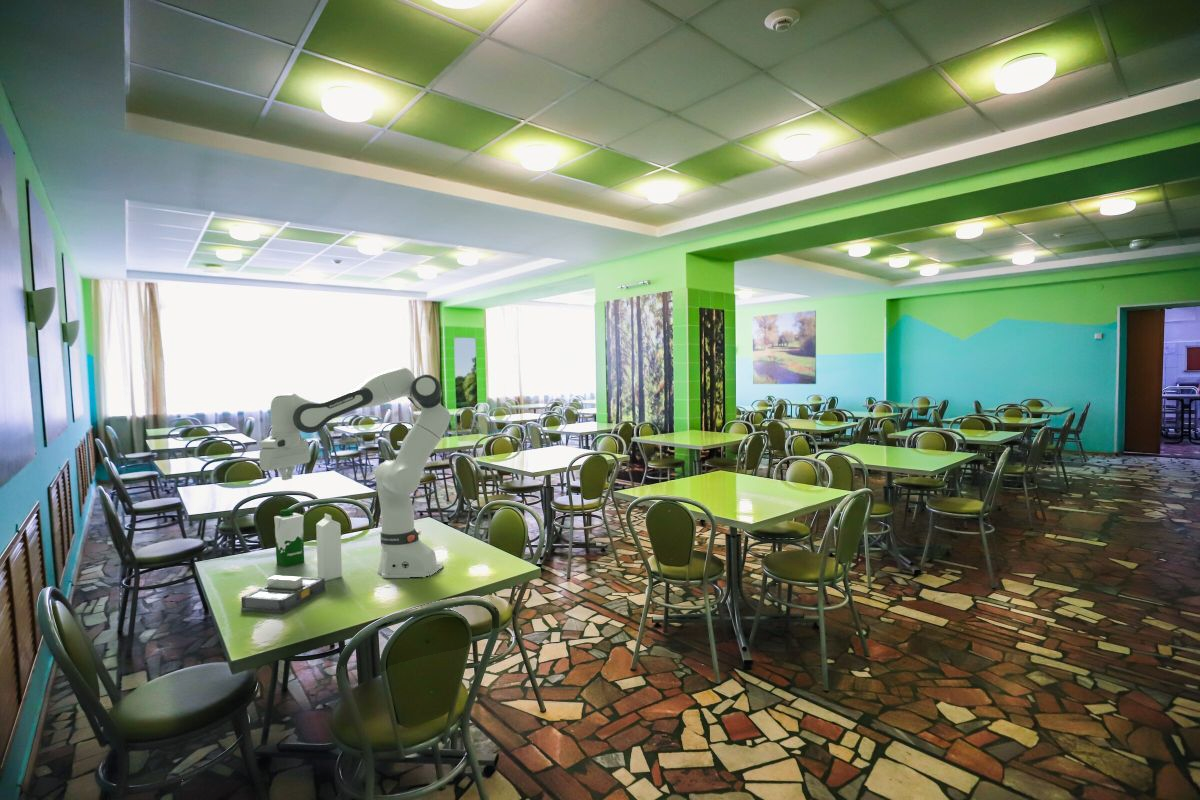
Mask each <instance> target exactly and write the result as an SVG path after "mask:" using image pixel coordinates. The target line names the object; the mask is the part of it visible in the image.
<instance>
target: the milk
mask: <svg viewBox="0 0 1200 800" xmlns="http://www.w3.org/2000/svg"><path fill="white" fill-rule="evenodd" d="M315 527H316V532H315V534H316V559H317V560H316V563H317V578H325V582H327V581H329V580H330V581H331V580H334V579H338V578H341V577H343V573H342V572H343V571H342V570H343V569H342V565H343V564H342V538H341V537H342V535H341V534H342V533H341V532H342V531H341V522H338V521H336V520H333V518H332V515H330V514H328V513H324V517H322V519H321V520H319V521H318V522H317V523H316V524H315Z"/></svg>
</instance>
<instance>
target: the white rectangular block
mask: <svg viewBox="0 0 1200 800" xmlns="http://www.w3.org/2000/svg"><path fill="white" fill-rule="evenodd" d="M302 577H303V576H296V577H293V575H272V576H270V577H268V578H267V585H268V589H271V590H285V591H297V590H299V589H301V588H303V584H302ZM267 585H266V586H267Z"/></svg>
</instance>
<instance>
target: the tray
mask: <svg viewBox="0 0 1200 800" xmlns="http://www.w3.org/2000/svg"><path fill="white" fill-rule="evenodd" d="M292 576H293V575H292ZM293 577H297V576H293ZM301 577H302V584H303V588H301V589H299V590H297V591H285V590H271V589H268V585H265V586H262V587H260V588H259V589H256V590H254V591H252V592H250V593H247V594H246V595H243V596H241V607H240V611H241V612H253V613H263V614H277V615H283V614H284V613H286V612H288V611H290V610H292V609H293V608H296V607H298V606H299V605H301V604H302V603H305V602H307V601H308V600H310V599H312V598H313V597H316V596H317V595H319V594H321V593H323V592H325V591H326V581H325V578H319V577H310V576H308V577H307V576H301Z"/></svg>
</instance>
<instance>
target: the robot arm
mask: <svg viewBox="0 0 1200 800" xmlns="http://www.w3.org/2000/svg"><path fill="white" fill-rule="evenodd" d="M442 393H443V392H442V386H441V383H440V381H439V380H438V378H436V377H435V376H434V375H431V374H421V375H419V376H416V377H415V375H414V373H413V372H412V371H411V370H410V369H409V368H407V367H402V366H401V367H395V368H392V369H389V370H385V371H383V372H380V373H376V374H374V375H372V376H370V377H368V378H367V379H365V380H363V381H362V382H360V383H359V384H358V385H356V386H355V387H354V388H353V389H351V390H350V391H348V392H346V393H345V394H342V395H340V396H337V397H335V398H332V399H329V400H327V401H322V402H319V403H318V402H314V401H310V400H308V399H305V398H303V397H301V396H299V395H298V394H295V393H286V394H281V395H280V394H279V395H277V396H275V397H273V399H272V400H271V403H270V422H271V430H270V436H268V437H266V438H265V439H262V440H261V441H259V448H261V449H260V451H259V468H260V469H261V470H262V471H266V472H267V471H274V470H278V472H279V473H280V475H281V480H282V481H287V480H291V479H293V473H294V471H295V467H296V466H298V465H302V464H307V463H310V462H311V451H310V450H311V449H310V446H309V442H308V440H307V439H306V438H305V437H301V432H302V433H305V434H313V433H316V432H318V431H320V430H322V428H324V427H325V425H326V424H327V423H329V422H330V421H332V420H335V418H338V417H340V416H342V415H345V414H347V413H349V412H352V411H355V410H358V409H365V408H371V407H376V406H381V405H383V404H387V403H390V402H392V401H395V400H397V399H399V398H402V397H407V399H408V400H409V401H410V402H411V403H412V404H413V406H414V407H415V408H416V409H418V410H419V411H421V412H420V414H419V416H418V418H417V419H416V421H415V423H414V424H413V425H412V427H411V428H410V429H409V431H408V432H407V434H406V435H405V436H404V438H403V440H402V442H401V443H400V444H401V445H400V449H399V452H398V453H397V455H396V458H395V460H394V459H390V460H385V461H383V462H381V463H380V464H378V466H376V468H375V470H374V479H375V483H376V489H377V495H378V501H379V507H380V518H381V531H380V545H381V549H380V551H381V552H380V553H381V554H380V561H379V566H378V570H377V573H378V574H379V575H381V578H383V579H402V578H403V579H405V578H406V579H411V578H410V577H423V578H427V577H426V576H428V577H430V576H433V575H434V573H435V572H436V573H438V572H439V571H440V570H439V569H440V568H441V567H442V566H443V567H444V564H443V562H439V561H437V556H436V553H435V551H434V549H432V548H431V547H430V546H428V545H427V544H426V543H425V542H424V541H422V540H420V535H421V533H422V532H421V531H418V532H417V530H416V529H415V515H414V514H415V513H414V509H415V508H414V505H413V502H412V499H411V494H414V493H415V492H416V491H417V490H418V488H419V486H420V484H421V477H422V474H423V472H424V469H425V468H426V464H427V462H428V460H429V458H430V456H431V455H432V453H433V451H434V450H435V449H436V447H437V445H438V444H439V442H440V441H441V439H442V437H443V436H444V434H445V433H446V431H447V428H448V426H449V424H450V422H451V418H452V417H451V416H452V415H451V413H450V411H449V410H448V409H447V408H446V407H444V406H443V405H442V404H441V401H442V395H443V394H442ZM443 567H442V568H443ZM438 570H439V571H438ZM437 571H438V572H437ZM436 573H435V574H436ZM432 574H433V575H432ZM429 575H430V576H429Z"/></svg>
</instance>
